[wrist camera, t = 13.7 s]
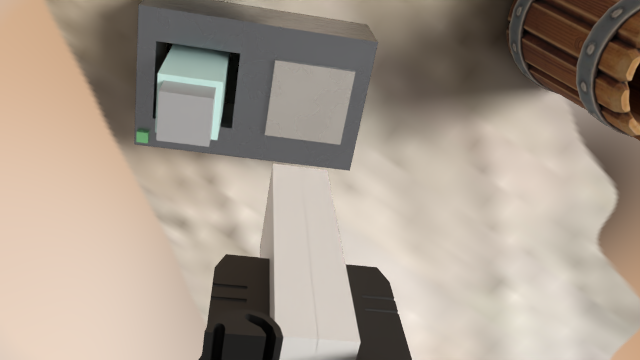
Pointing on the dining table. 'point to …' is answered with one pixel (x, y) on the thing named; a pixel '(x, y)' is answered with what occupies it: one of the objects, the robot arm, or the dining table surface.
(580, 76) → the mug
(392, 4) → the dining table surface
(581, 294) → the dining table surface
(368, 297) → the robot arm
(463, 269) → the dining table surface
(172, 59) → the plug
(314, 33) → the port panel
